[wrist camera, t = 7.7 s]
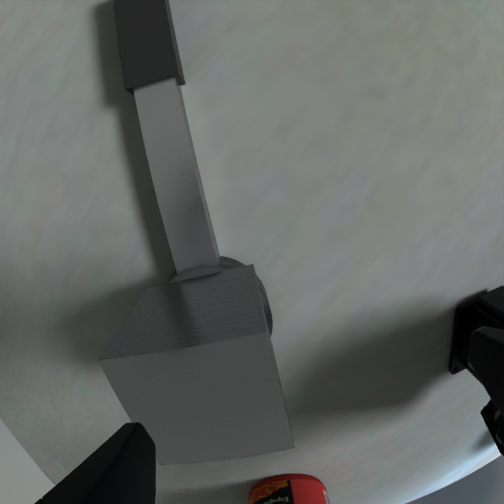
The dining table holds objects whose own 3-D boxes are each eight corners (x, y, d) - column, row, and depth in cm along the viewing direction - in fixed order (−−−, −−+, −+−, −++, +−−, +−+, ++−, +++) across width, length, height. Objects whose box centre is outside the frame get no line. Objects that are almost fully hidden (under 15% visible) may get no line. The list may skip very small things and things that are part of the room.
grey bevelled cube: (274, 357, 17) (294, 447, 10) (179, 375, 17) (160, 464, 10) (253, 264, 16) (266, 331, 9) (146, 287, 16) (98, 360, 9)
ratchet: (276, 340, 20) (291, 398, 14) (180, 359, 20) (166, 418, 14) (193, -26, 13) (181, -80, 8) (97, 4, 13) (60, -36, 8)
